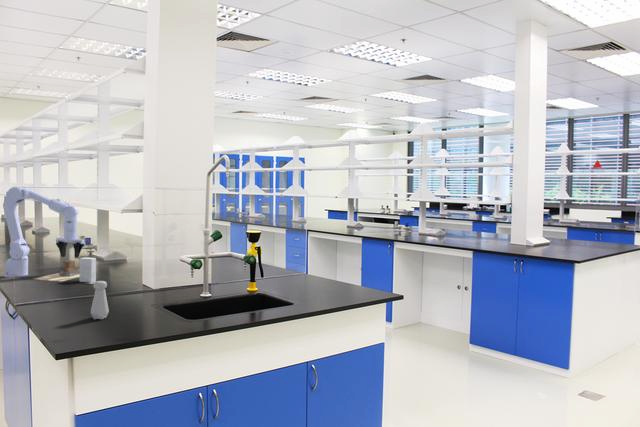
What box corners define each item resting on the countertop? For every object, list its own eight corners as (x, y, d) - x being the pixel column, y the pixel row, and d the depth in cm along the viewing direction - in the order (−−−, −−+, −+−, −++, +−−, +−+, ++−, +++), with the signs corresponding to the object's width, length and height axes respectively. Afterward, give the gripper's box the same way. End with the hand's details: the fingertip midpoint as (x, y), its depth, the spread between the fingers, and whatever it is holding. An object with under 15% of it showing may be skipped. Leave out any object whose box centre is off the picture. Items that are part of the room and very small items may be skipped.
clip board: (31, 281, 236) (31, 274, 236) (64, 273, 258) (64, 267, 257) (61, 283, 233) (61, 276, 233) (91, 276, 254) (91, 269, 254)
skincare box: (96, 282, 238) (96, 257, 237) (91, 284, 234) (91, 258, 233) (84, 282, 238) (84, 257, 238) (78, 283, 234) (79, 258, 234)
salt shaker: (94, 316, 177) (94, 279, 177) (110, 316, 178) (111, 280, 177) (87, 320, 171) (88, 282, 171) (105, 320, 172) (105, 283, 171)
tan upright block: (63, 275, 248) (63, 261, 247) (69, 274, 252) (69, 260, 252) (68, 275, 247) (68, 261, 247) (74, 274, 251) (74, 260, 251)
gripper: (52, 229, 247) (51, 257, 247) (78, 231, 244) (77, 259, 244) (62, 229, 254) (61, 255, 254) (87, 230, 251) (86, 257, 251)
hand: (70, 257), depth 250 cm, fingers open, 7 cm apart
